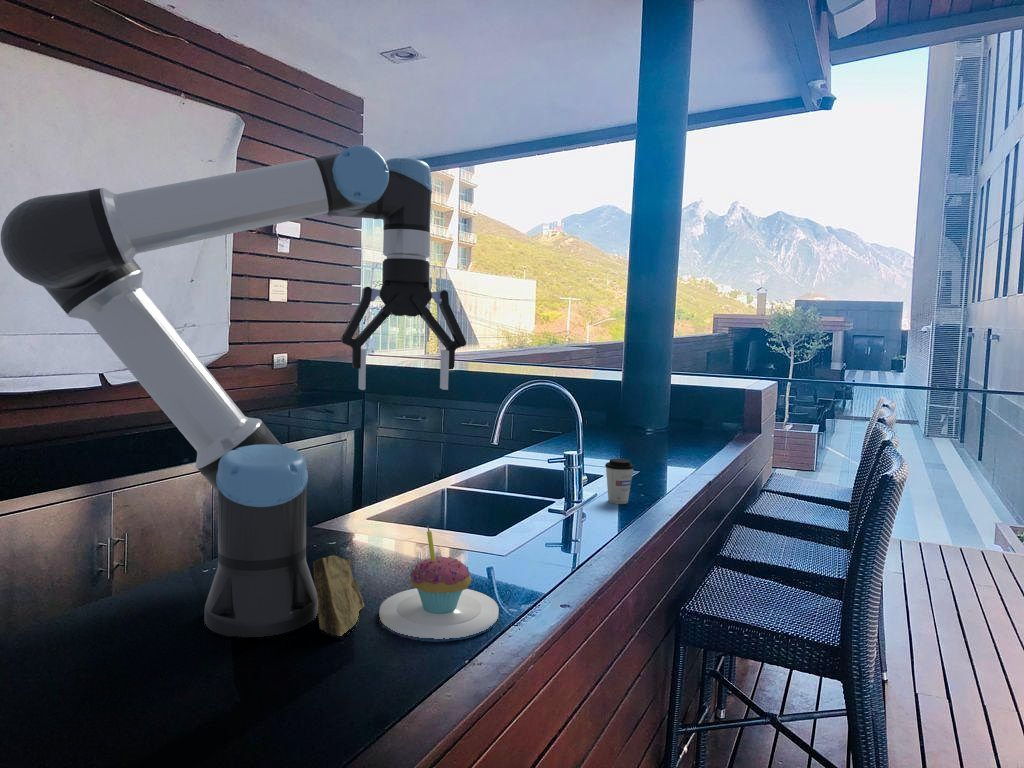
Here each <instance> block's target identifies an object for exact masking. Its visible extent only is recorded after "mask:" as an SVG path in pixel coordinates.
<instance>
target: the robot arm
mask: <svg viewBox="0 0 1024 768" xmlns="http://www.w3.org/2000/svg"><path fill="white" fill-rule="evenodd" d="M431 173H432V171H431V167H430V165H428V163H427V162H425V161H423V160H421V159H416V158H410V157H405V158H404V157H395V158H394V157H393V158H389V159H387V160H385V158H384V157H383V156H382V155H381V154H380V152H378V151H377V150H376V149H374V148H372V147H369V146H367V145H361V144H360V145H359V144H358V145H353V146H349V147H347V148H344V149H343V150H340V152H339V153H334V154H329V155H324V156H319V157H315V158H313V157H311V158H307V159H306V158H305V159H301V160H295V161H290V162H286V163H279V164H273V165H268V166H263V167H257V168H252V169H247V170H246V169H245V170H241V171H235V172H230V173H225V174H219V175H214V176H213V175H212V176H209V177H203V178H196V179H192V180H185V181H180V182H175V183H171V184H165V185H160V186H159V185H158V186H154V187H148V188H142V189H137V190H132V191H126V192H121V193H114V192H112V191H111V190H108V189H107V188H105V187H100V188H94V189H88V190H80V191H74V192H65V193H59V194H58V193H57V194H56V193H55V194H51V195H50V194H48V195H42V196H41V195H40V196H37V197H33V198H30V199H27V200H25V201H22V202H21V203H19V204H18V205H17V206H15V207H14V208H13V209H12V210H11V211H10V212H9V213H8V215H7V216H6V217H5V220H4V221H3V223H2V225H1V231H0V245H1V249H2V252H3V253H2V254H3V256H4V258H5V259H6V261H7V263H8V264H9V265H10V266H11V267H12V269H13V270H14V271H15V272H16V273H17V274H19V276H21V277H23V278H24V279H26V280H28V281H29V282H31V283H33V284H35V285H39V286H42V287H43V289H45V290H46V292H47V293H48V294H49V295H50V296H51V298H52V299H54V302H56V303H57V304H58V305H59V307H60V308H61V309H62V310H63V312H64V313H65V314H66V315H67V316H68V317H69V318H73V319H78V320H84V321H86V322H88V323H89V324H90V326H91V327H92V328H93V329H94V330H95V331H96V333H97V334H98V335H99V337H101V339H102V340H103V341H104V342H105V343H106V345H107V347H109V348H110V350H112V352H113V354H115V355H116V357H117V358H118V359H119V360H120V361H121V363H123V365H124V366H125V368H127V370H128V371H129V372H130V374H132V375H133V377H134V379H136V380H137V382H139V384H140V385H141V387H142V388H143V389H144V390H145V391H146V392H147V394H148V395H149V396H150V398H151V399H153V401H154V402H155V403H156V404H157V406H159V408H160V409H161V410H162V411H163V413H164V414H165V415H166V417H168V419H169V420H170V421H171V422H172V424H173V425H174V426H175V427H176V428H177V429H178V431H179V432H180V433H181V434H182V435H183V437H184V438H185V439H186V441H188V442H189V444H190V446H192V447H193V448H194V450H195V451H196V461H195V468H197V470H198V471H199V473H201V475H202V476H203V477H204V479H206V481H207V483H209V484H210V486H212V488H213V489H214V490H215V491H216V492H217V569H216V572H215V575H214V577H213V580H212V583H211V587H210V590H209V592H208V595H207V598H206V602H205V604H204V610H203V611H204V616H203V617H204V622H205V623H204V625H205V624H206V626H207V627H208V628H209V629H210V630H212V631H214V632H217V633H220V634H223V635H229V636H239V637H240V636H241V637H264V636H273V635H279V634H283V633H286V632H289V631H292V630H295V629H297V628H300V627H302V626H304V625H306V624H308V623H309V622H311V621H312V620H313V621H315V619H316V618H317V617H318V615H317V614H319V612H318V598H317V592H316V587H315V582H314V580H313V577H312V574H311V571H310V568H309V565H308V563H307V484H308V481H309V472H308V469H307V461H306V458H305V456H304V455H303V453H301V452H300V451H299V450H297V449H295V448H289V447H287V446H285V445H283V444H282V443H281V442H279V440H278V439H277V438H276V436H275V435H274V434H273V432H271V430H269V428H268V427H267V426H266V424H265V423H264V422H263V420H261V419H260V418H256V417H247V416H246V415H245V414H244V413H243V412H242V410H241V409H240V408H239V407H238V405H237V404H236V403H235V402H234V401H233V399H232V398H231V397H230V396H229V394H228V393H227V392H226V391H225V389H224V388H223V387H222V385H221V384H220V382H218V381H217V380H216V378H215V377H214V375H213V374H212V373H211V372H210V371H209V369H208V368H207V367H206V365H205V364H204V363H203V362H202V361H201V359H200V358H199V357H198V355H197V354H196V353H195V352H194V350H193V349H192V348H191V347H190V346H189V345H188V343H187V342H186V341H185V339H184V338H183V336H182V335H181V334H180V333H179V331H178V330H176V328H175V327H174V325H172V323H171V322H170V320H169V319H168V318H167V317H166V315H165V314H164V313H163V312H162V311H161V309H160V308H159V307H158V305H157V304H156V303H155V301H153V299H152V298H151V297H150V295H149V294H148V293H147V291H145V289H144V288H143V279H144V278H143V277H144V271H143V270H142V268H141V267H140V265H139V264H138V263H137V261H135V259H134V257H135V256H136V255H138V254H142V253H146V252H150V251H156V250H161V249H166V248H170V247H174V246H179V245H184V244H189V243H193V242H197V241H203V240H207V239H212V238H217V237H222V236H226V235H231V234H236V233H240V232H246V231H251V230H254V229H258V228H264V227H268V226H274V225H277V224H278V225H279V224H282V223H287V222H292V221H296V220H303V219H306V218H310V217H315V216H320V215H321V216H322V215H323V216H327V218H328V217H329V218H330V217H344V218H346V217H347V218H360V219H373V220H383V239H382V240H383V241H382V242H383V243H382V244H383V247H382V254H383V256H384V257H386V258H385V259H384V260H382V284H381V286H380V287H381V288H380V289H378V288H372V287H371V286H365V287H363V288H362V291H361V298H360V302H359V304H358V305H357V307H356V309H355V311H354V313H353V315H352V317H351V318H350V321H349V322H348V325H347V326H346V328H345V330H344V331H343V334H342V336H341V337H340V342H341V343H342V344H344V345H346V346H349V347H351V349H352V351H351V354H352V356H351V365H352V368H353V369H358V389H359V390H361V391H365V390H366V383H367V381H366V374H367V370H366V369H367V349H366V348H364V347H363V345H364V344H365V343H366V342H367V341H368V340H369V339H370V337H371V336H372V335H373V334H374V333H375V332H376V330H377V329H378V328H379V327H380V326H382V324H383V323H384V322H385V321H386V319H388V318H389V317H390V316H391V315H393V316H394V317H403V316H406V317H417V316H419V317H420V318H421V319H422V320H423V321H424V323H425V324H426V325H427V326H428V327H429V329H430V330H431V332H432V333H433V334H434V335H435V336H436V337H437V339H438V340H439V341H440V342H441V343H442V345H443V346H444V348H445V349H440V367H439V368H440V370H439V372H440V374H439V378H440V379H439V389H441V390H442V391H443V390H444V391H445V390H446V391H449V374H450V373H449V370H454V368H455V363H456V362H455V359H456V358H455V357H456V353H455V352H456V350H457V349H460V348H462V347H466V345H467V341H466V338H465V336H464V334H463V332H462V329H461V327H460V325H459V323H458V321H457V318H456V316H455V313H454V311H453V309H452V307H451V304H450V298H449V292H448V291H447V290H446V289H445V290H444V289H442V290H439V291H431V289H430V264H431V263H430V262H429V261H428V260H427V259H428V258H429V257H431V253H430V252H431V208H432V207H431V206H432V194H433V190H432V174H431ZM377 297H379V299H380V300H381V301H382V303H383V304H384V305H383V307H381V309H380V310H379V311H378V313H377V314H376V315H375V316H374V318H373V319H372V320H371V321H370V322H369V323H368V324H367V325H366V326H365V328H364V329H363V330H362V331H361V332H360V333H359V334H358V335H357V337H355V339H354V338H353V337H354V335H355V333H356V331H357V329H358V328H359V326H360V324H361V322H362V321H363V319H364V318H363V317H364V316H365V314H366V312H367V310H368V309H369V307H370V304H371V302H375V300H376V298H377ZM432 299H433V301H434V303H435V304H437V305H438V306H439V307H438V308H439V309H440V311H441V315H442V317H443V318H444V321H445V323H446V325H447V328H448V329H449V332H450V334H451V335H452V336H451V337H452V338H453V340H452V339H451V337H450V336H449V335H448V333H447V332H446V331H445V330H444V328H443V327H442V325H441V324H440V323H439V322H438V320H436V318H435V317H434V316H433V314H432V312H431V311H430V310H429V308H428V307H427V306H428V304H429V303H430V301H431V300H432ZM316 616H317V617H316ZM314 618H315V619H314ZM313 621H312V622H313ZM312 622H311V623H312ZM308 625H309V624H308ZM206 626H205V627H206ZM283 635H284V634H283ZM279 636H280V635H279Z"/></svg>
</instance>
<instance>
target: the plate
mask: <svg viewBox="0 0 1024 768" xmlns="http://www.w3.org/2000/svg"><path fill="white" fill-rule="evenodd" d="M499 613H500V612H499V605H498V604H497V602H496V601H495V599H493V598H492V597H490V596H488V595H486V594H485V593H482V592H479V591H476V590H473V589H469V588H467V589H465V590H463V591H462V593H461V595H460V597H459V600H458V603H457V607H456V609H455V610H453V611H451V612H449V613H443V614H436V613H430V612H428V611H426V610H424V608H423V605H422V602H421V598H420V595H419V592H418V590H417V588H410V589H407V590H404V591H400V592H397V593H394V594H393V595H391V596H389V597H388V598H386V599H385V600H384V601H383V602H382V603H381V604H380V606H379V613H378V614H379V616H378V618H379V617H380V620H381V622H382V623H383V624H384V625H385V626H387V627H388V628H390V629H391V630H393V631H395V632H397V633H400V634H404V635H408V636H413V637H419V638H434V639H443V638H445V639H449V638H460V637H466V636H469V635H473V634H476V633H479V632H481V631H484V630H486V629H488V628H489V627H490V626H492V625H493V624H494V623H495V622H496V621H497V619H498V620H499ZM380 620H379V621H380Z"/></svg>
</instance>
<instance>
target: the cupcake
mask: <svg viewBox="0 0 1024 768" xmlns="http://www.w3.org/2000/svg"><path fill="white" fill-rule="evenodd" d="M426 528H427V531H426V534H427V541H428V550H429V557H430V558H427V559H424V560H422V561H420V562H417V564H416V566H415V567H414V568H412V570H411V573H410V583H411V584H412V585H413V587H414V588H413V589H415V588H417V590H418V592H419V595H420V598H421V602H422V605H423V608H424V610H426V611H428V612H430V613H436V614H443V613H449V612H451V611H453V610H455V609H456V607H457V603H458V600H459V597H460V595H461V593H462V591H463V590H465V589H468V588H469V586H470V585H471V583H472V577H471V572H470V570H469V567H468V566H466V564H464V563H463V562H461V560H458V559H457V558H454V557H450V556H439V557H438V556H436V555H435V547H434V540H433V532H432V530H430V527H429V526H428V525H427V526H426Z"/></svg>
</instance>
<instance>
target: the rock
mask: <svg viewBox="0 0 1024 768" xmlns="http://www.w3.org/2000/svg"><path fill="white" fill-rule="evenodd" d="M312 563H313V564H312V567H313V579H314V580H313V582H314V586H315V589H316V592H317V598H318V615H317V616H318V627H319V630H320V629H321V630H324V631H325V632H327V633H330V634H332V635H337V636H342V635H343V634H344V633H346V632H347V631H348V630H349V629H351V628H352V627H353V626H354V625H355V624H356V622H357V620H358V619H359V618H358V616H359V611H360V610H361V609H362V610H363V608H364V607H365V603H364V599H363V596H362V594H361V592H360V587H359V584H358V582H357V580H356V578H354V575H353V572H352V569H351V561H350V560H347V559H344V558H342V557H339V556H338V555H337V556H336V555H329V556H326V557H321V558H319V559H316V560H314V561H313V562H312ZM362 610H361V611H362ZM361 611H360V612H361ZM359 617H360V616H359ZM358 621H359V620H358Z"/></svg>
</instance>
